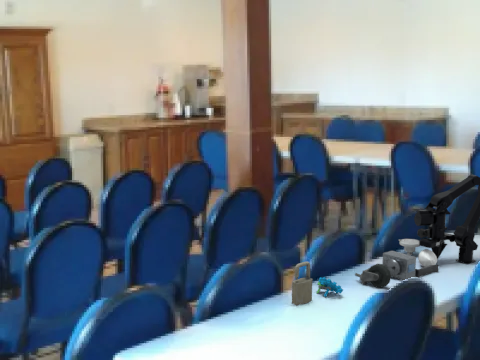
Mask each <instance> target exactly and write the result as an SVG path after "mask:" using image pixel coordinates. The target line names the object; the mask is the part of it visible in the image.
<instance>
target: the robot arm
mask: <svg viewBox="0 0 480 360" xmlns="http://www.w3.org/2000/svg"><path fill="white" fill-rule="evenodd" d="M476 186H477V196H476V198H475V200H474V202H473V204H472V205H471V208H470V210H469V211H468V214H467V216H466V218H465V221H464V223H463V224H461V225H457V226H456V227H455V229H454V231H453V232H452V233H447V232H445V231H446V230H447V229H448V227H447V226H446V220H447V219H446V218H447V215H451V212H450V210H449V208H450V207H451V205H453V202H454V201H455V200H456V199H457V198H459V197H460V196H462V195H463V194H465V193H467V192H468V191H470V190H471V189H473V188H474V187H476ZM413 220H414V223H415V226H417V227H423V226H428V229H424V228H418V229H417V233H416V234H417V236H418V237H419V240H418V241H419V247H424V248H426V249H431V251H432V252H434V254H435V255H436V257H437V261H438V260H439V258H440V256H441V254H442V253H443V252H444V250H445V248H446V247H447V246H448V243H446V242H445V241H449V242H450V243H454V242H455V245H456V246H457V247H459V249H458V258H456V259H455V262H458V263H462V264H466V265H469V264H472V263H475V262H476V261H477V260H476V259H474V251H477V250H478V247H479V244H477V242H475V240H474V239H475V236H476V232H475V229H476V226H477V224H478V222H479V220H480V176H478V175H475V174H469V175H468V176H467V177H465V179H462V180H461V181H460V182H458V183H457V184H456V185H454V186H453V187H451V188H449V189H448V190H446V191H443V192H439V193H436V194H434V195H432V197H431V198H430V201H429V202H428V204H427V205H426V207H425V208H424V209H417V212H416V213H415V215H414V218H413Z"/></svg>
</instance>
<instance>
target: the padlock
mask: <svg viewBox="0 0 480 360" xmlns="http://www.w3.org/2000/svg"><path fill="white" fill-rule="evenodd" d="M301 267H306V268H305V269H306V270H305V273H306V274H305V275H306V276H305V277H301V278H299V276H300V275H299V274H300V273H299V272H300V268H301ZM294 278H295V280H293V281H292V282H291V304H293V305H294V306H299V305H305V304H307V303H310V302H312V301H313V278H312V277H311V262H309V261H303V262H300V263H297V264H296V265H295V267H294Z"/></svg>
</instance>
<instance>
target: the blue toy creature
mask: <svg viewBox="0 0 480 360" xmlns="http://www.w3.org/2000/svg"><path fill="white" fill-rule="evenodd" d="M317 281H318V283H317V284H316V285H317V288H318V289H317V291H316V294H317V293H318V294H319V293H320V291H321V290H324V291H325V292H324V294H323V297H324V296H325V297H324V298H327V296H328V294H329V292H331V291H333V293H335V292H336V293H335V294H342V292H343V291H344V289H343V287H342V286H341V285H340V284H338V283H337V282H336V281H332V279H330V278H326V277H321V276H320V277H319V279H318V280H317Z"/></svg>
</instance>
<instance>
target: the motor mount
mask: <svg viewBox="0 0 480 360" xmlns="http://www.w3.org/2000/svg"><path fill="white" fill-rule="evenodd" d="M416 263H417V257H416V256H413V255H412V256H410V255H407V253H402V252H398V251H395V250H389V251H385V252H382V264H383V265H385V266H386V267H387V268H388V269H389V271H390V273H391V278H394V279H397V280H400V281H403V280H405V279H408V278H411V277H415V278H421V277H424V276H427V275H429V274H433V273H439V264H435V265H429V266H426V267H424V266H422V267H420V268H417V267H416V266H417V264H416Z"/></svg>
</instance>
